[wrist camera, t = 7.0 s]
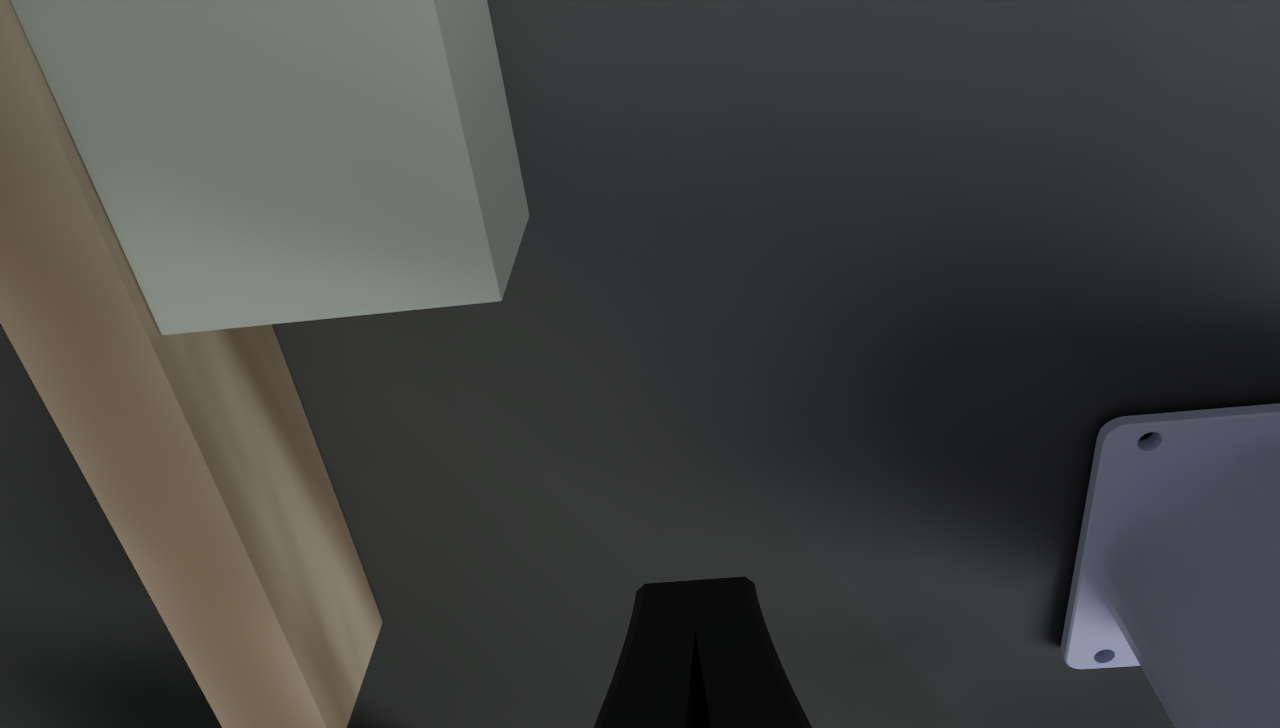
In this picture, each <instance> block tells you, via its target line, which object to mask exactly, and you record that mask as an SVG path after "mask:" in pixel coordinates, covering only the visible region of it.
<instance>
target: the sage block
mask: <svg viewBox="0 0 1280 728" xmlns="http://www.w3.org/2000/svg"><path fill="white" fill-rule="evenodd" d="M10 1H11V3H12V5H13V7H14V10H15V12H16V14H17V16H18V18H19V21H20V23H21V25H22V27H23V30H24V32H25V34H26V36H27V38H28V41H29V43H30V45H31V47H32V49H33V52H34V54H35V56H36V58H37V60H38V63H39V65H40V67H41V69H42V72H43V74H44V76H45V78H46V80H47V83H48V85H49V87H50V89H51V91H52V94H53V96H54V98H55V100H56V102H57V105H58V107H59V109H60V111H61V113H62V116H63V118H64V120H65V122H66V125H67V127H68V129H69V131H70V133H71V136H72V138H73V140H74V142H75V144H76V147H77V149H78V151H79V153H80V155H81V158H82V160H83V162H84V164H85V166H86V169H87V171H88V173H89V175H90V178H91V180H92V182H93V184H94V186H95V189H96V191H97V193H98V195H99V197H100V200H101V202H102V204H103V206H104V208H105V211H106V213H107V215H108V217H109V220H110V222H111V224H112V226H113V228H114V231H115V233H116V235H117V237H118V239H119V242H120V244H121V246H122V248H123V250H124V253H125V255H126V257H127V259H128V261H129V264H130V266H131V268H132V270H133V273H134V275H135V277H136V279H137V281H138V284H139V286H140V288H141V290H142V292H143V295H144V297H145V299H146V301H147V303H148V306H149V308H150V310H151V312H152V315H153V317H154V319H155V321H156V323H157V326H158V328H159V330H160V332H161V334H162V335H170V334H180V333H190V332H200V331H210V330H220V329H229V328H239V327H249V326H259V325H269V324H279V323H289V322H299V321H309V320H319V319H329V318H339V317H349V316H359V315H368V314H378V313H388V312H398V311H408V310H418V309H428V308H438V307H448V306H458V305H468V304H478V303H488V302H497V301H502V298H503V295H504V292H505V289H506V286H507V283H508V280H509V277H510V274H511V271H512V267H513V264H514V261H515V258H516V255H517V252H518V249H519V246H520V243H521V240H522V237H523V234H524V230H525V227H526V224H527V221H528V218H529V211H528V206H527V201H526V196H525V191H524V185H523V180H522V175H521V170H520V165H519V160H518V155H517V150H516V145H515V140H514V135H513V130H512V125H511V120H510V115H509V109H508V104H507V99H506V94H505V89H504V84H503V79H502V74H501V69H500V64H499V59H498V54H497V49H496V44H495V39H494V33H493V28H492V23H491V18H490V13H489V8H488V3H487V0H10Z"/></svg>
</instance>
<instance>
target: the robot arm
mask: <svg viewBox="0 0 1280 728" xmlns="http://www.w3.org/2000/svg"><path fill="white" fill-rule="evenodd" d="M1150 432H1153V433H1152V435H1151V436H1150V437H1148V438H1147V439H1145V440H1141V441H1139V439H1140V437H1142V436H1143V435H1144V434H1146V433H1150ZM1060 650H1061V654H1062V657H1063V659H1064V661H1065V663H1066V664H1067V665H1068V666H1070V667H1072V668H1075V669H1094V668H1109V667H1125V666H1141V667H1142V669H1143V671H1144V673H1145V675H1146V676H1147V678H1148V680H1149V682H1150V683H1151V685H1152V687H1153V689H1154V691H1155V692H1156V694H1157V696H1158V698H1159V700H1160V701H1161V703H1162V705H1163V707H1164V708H1165V710H1166V712H1167V714H1168V716H1169V717H1170V719H1171V721H1172V723H1173V725H1174V726H1175V728H1280V403H1278V404H1266V405H1254V406H1242V407H1230V408H1218V409H1206V410H1194V411H1182V412H1170V413H1158V414H1146V415H1134V416H1123V417H1119V418H1114V419H1112V420H1111V421H1109V422H1107V423H1106V424H1105V425H1104V426H1103V427H1102V428H1101V429H1100V431H1099V433H1098V436H1097V441H1096V446H1095V452H1094V458H1093V464H1092V469H1091V475H1090V481H1089V487H1088V492H1087V498H1086V504H1085V510H1084V515H1083V521H1082V527H1081V533H1080V538H1079V544H1078V550H1077V556H1076V561H1075V567H1074V573H1073V579H1072V584H1071V590H1070V596H1069V602H1068V607H1067V613H1066V619H1065V624H1064V630H1063V636H1062V642H1061V647H1060ZM594 728H812V727H811V725H810V723H809V721H808V719H807V717H806V715H805V713H804V711H803V709H802V707H801V705H800V703H799V701H798V699H797V697H796V695H795V693H794V691H793V689H792V687H791V684H790V682H789V680H788V678H787V676H786V674H785V671H784V669H783V667H782V664H781V662H780V660H779V657H778V655H777V652H776V650H775V648H774V645H773V643H772V640H771V638H770V635H769V632H768V630H767V627H766V624H765V621H764V618H763V615H762V612H761V608H760V605H759V602H758V598H757V594H756V589H755V584H754V583H753V582H752V581H750V580H749V579H748V578H746V577H733V578H719V579H705V580H692V581H678V582H664V583H650V584H644V585H643V586H642V587H641V588H640V589H639V590H638V591H637V592H636V598H635V603H634V608H633V613H632V617H631V621H630V625H629V628H628V632H627V636H626V639H625V642H624V646H623V649H622V652H621V655H620V658H619V661H618V664H617V667H616V670H615V673H614V676H613V679H612V682H611V684H610V687H609V690H608V692H607V695H606V697H605V700H604V702H603V705H602V708H601V710H600V713H599V715H598V718H597V721H596V723H595V726H594Z"/></svg>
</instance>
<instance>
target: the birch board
mask: <svg viewBox="0 0 1280 728" xmlns="http://www.w3.org/2000/svg"><path fill="white" fill-rule="evenodd" d="M0 323H1V325H2V327H3V329H4V330H5V332H6V334H7V336H8V338H9V340H10V341H11V343H12V345H13V347H14V349H15V351H16V352H17V354H18V356H19V358H20V360H21V361H22V363H23V365H24V367H25V369H26V371H27V372H28V374H29V376H30V378H31V380H32V382H33V383H34V385H35V387H36V389H37V391H38V392H39V394H40V396H41V398H42V400H43V402H44V403H45V405H46V407H47V409H48V411H49V413H50V414H51V416H52V418H53V420H54V422H55V423H56V425H57V427H58V429H59V431H60V433H61V434H62V436H63V438H64V440H65V442H66V444H67V445H68V447H69V449H70V451H71V453H72V454H73V456H74V458H75V460H76V462H77V464H78V465H79V467H80V469H81V471H82V473H83V475H84V476H85V478H86V480H87V482H88V484H89V486H90V487H91V489H92V491H93V493H94V495H95V496H96V498H97V500H98V502H99V504H100V506H101V507H102V509H103V511H104V513H105V515H106V517H107V518H108V520H109V522H110V524H111V526H112V527H113V529H114V531H115V533H116V535H117V537H118V538H119V540H120V542H121V544H122V546H123V548H124V549H125V551H126V553H127V555H128V557H129V558H130V560H131V562H132V564H133V566H134V568H135V569H136V571H137V573H138V575H139V577H140V579H141V580H142V582H143V584H144V586H145V588H146V589H147V591H148V593H149V595H150V597H151V599H152V600H153V602H154V604H155V606H156V608H157V610H158V611H159V613H160V615H161V617H162V619H163V620H164V622H165V624H166V626H167V628H168V630H169V631H170V633H171V635H172V637H173V639H174V641H175V642H176V644H177V646H178V648H179V650H180V652H181V653H182V655H183V657H184V659H185V661H186V662H187V664H188V666H189V668H190V670H191V672H192V673H193V675H194V677H195V679H196V681H197V683H198V684H199V686H200V688H201V690H202V692H203V693H204V695H205V697H206V699H207V701H208V703H209V704H210V706H211V708H212V710H213V712H214V714H215V715H216V717H217V719H218V721H219V723H220V724H221V726H222V728H347V725H348V722H349V719H350V716H351V713H352V711H353V708H354V705H355V702H356V699H357V696H358V693H359V690H360V687H361V684H362V681H363V678H364V675H365V672H366V669H367V666H368V664H369V661H370V658H371V655H372V652H373V649H374V646H375V643H376V640H377V637H378V634H379V631H380V628H381V625H382V622H383V621H382V619H381V616H380V613H379V611H378V608H377V605H376V603H375V600H374V597H373V594H372V592H371V589H370V586H369V584H368V581H367V578H366V576H365V573H364V570H363V568H362V565H361V562H360V560H359V557H358V554H357V552H356V549H355V546H354V544H353V541H352V538H351V535H350V533H349V530H348V527H347V525H346V522H345V519H344V517H343V514H342V511H341V509H340V506H339V503H338V501H337V498H336V495H335V493H334V490H333V487H332V485H331V482H330V479H329V477H328V474H327V471H326V468H325V466H324V463H323V460H322V458H321V455H320V452H319V450H318V447H317V444H316V442H315V439H314V436H313V434H312V431H311V428H310V426H309V423H308V420H307V418H306V415H305V412H304V409H303V407H302V404H301V401H300V399H299V396H298V393H297V391H296V388H295V385H294V383H293V380H292V377H291V375H290V372H289V369H288V367H287V364H286V361H285V359H284V356H283V353H282V351H281V348H280V345H279V342H278V340H277V337H276V334H275V332H274V329H273V326H272V324H269V325H259V326H249V327H239V328H229V329H220V330H210V331H200V332H190V333H180V334H170V335H162V334H161V332H160V330H159V328H158V326H157V323H156V321H155V319H154V317H153V315H152V312H151V310H150V308H149V306H148V303H147V301H146V299H145V297H144V295H143V292H142V290H141V288H140V286H139V284H138V281H137V279H136V277H135V275H134V273H133V270H132V268H131V266H130V264H129V261H128V259H127V257H126V255H125V253H124V250H123V248H122V246H121V244H120V242H119V239H118V237H117V235H116V233H115V231H114V228H113V226H112V224H111V222H110V220H109V217H108V215H107V213H106V211H105V208H104V206H103V204H102V202H101V200H100V197H99V195H98V193H97V191H96V189H95V186H94V184H93V182H92V180H91V178H90V175H89V173H88V171H87V169H86V166H85V164H84V162H83V160H82V158H81V155H80V153H79V151H78V149H77V147H76V144H75V142H74V140H73V138H72V136H71V133H70V131H69V129H68V127H67V125H66V122H65V120H64V118H63V116H62V113H61V111H60V109H59V107H58V105H57V102H56V100H55V98H54V96H53V94H52V91H51V89H50V87H49V85H48V83H47V80H46V78H45V76H44V74H43V72H42V69H41V67H40V65H39V63H38V60H37V58H36V56H35V54H34V52H33V49H32V47H31V45H30V43H29V41H28V38H27V36H26V34H25V32H24V30H23V27H22V25H21V23H20V21H19V18H18V16H17V14H16V12H15V10H14V7H13V5H12V3H11V1H10V0H0Z"/></svg>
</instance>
